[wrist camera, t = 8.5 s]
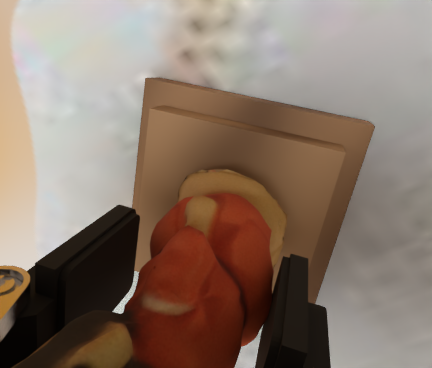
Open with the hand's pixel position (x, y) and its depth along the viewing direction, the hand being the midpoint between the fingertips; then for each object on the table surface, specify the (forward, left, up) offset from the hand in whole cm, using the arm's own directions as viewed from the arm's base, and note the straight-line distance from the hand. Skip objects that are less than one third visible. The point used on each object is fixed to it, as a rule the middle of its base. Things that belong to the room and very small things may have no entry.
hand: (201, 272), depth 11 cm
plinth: (0, 0, -7) cm, 7 cm away
